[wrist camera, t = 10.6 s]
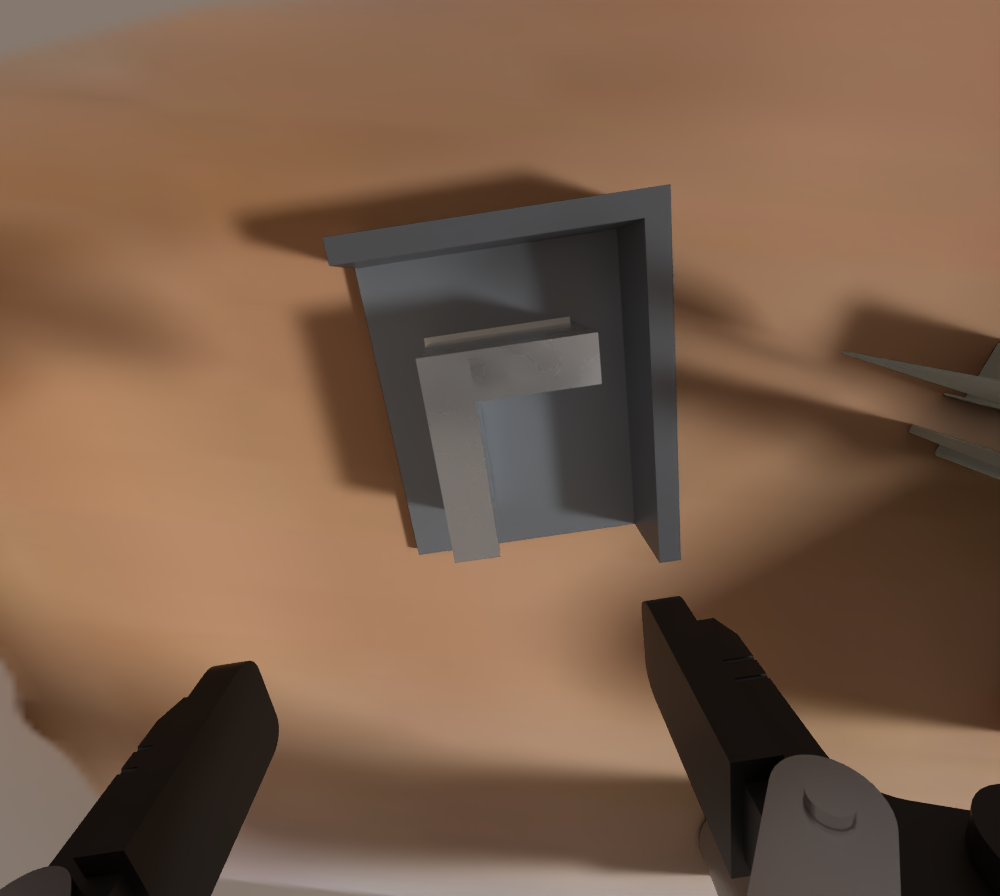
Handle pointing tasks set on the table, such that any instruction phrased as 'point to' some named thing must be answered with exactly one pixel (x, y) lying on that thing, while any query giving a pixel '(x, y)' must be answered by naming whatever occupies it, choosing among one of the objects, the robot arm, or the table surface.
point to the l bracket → (459, 422)
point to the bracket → (989, 388)
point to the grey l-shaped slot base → (524, 305)
